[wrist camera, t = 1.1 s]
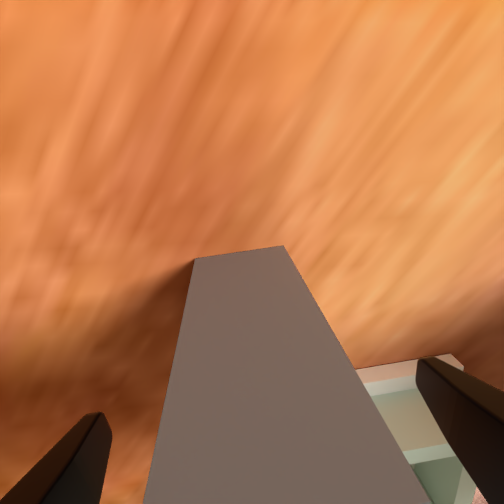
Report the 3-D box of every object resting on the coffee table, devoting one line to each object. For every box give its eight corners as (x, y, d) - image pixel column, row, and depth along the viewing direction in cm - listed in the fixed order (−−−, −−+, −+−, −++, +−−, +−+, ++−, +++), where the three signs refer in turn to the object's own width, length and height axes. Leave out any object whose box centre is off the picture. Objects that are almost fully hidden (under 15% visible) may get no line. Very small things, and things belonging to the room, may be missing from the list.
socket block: (450, 353, 17) (516, 416, 13) (430, 466, 20) (477, 540, 17) (277, 382, 16) (293, 456, 12) (289, 493, 20) (305, 575, 16)
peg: (283, 245, 13) (431, 501, 4) (289, 319, 15) (406, 630, 5) (195, 258, 13) (130, 559, 4) (210, 331, 14) (191, 677, 5)
